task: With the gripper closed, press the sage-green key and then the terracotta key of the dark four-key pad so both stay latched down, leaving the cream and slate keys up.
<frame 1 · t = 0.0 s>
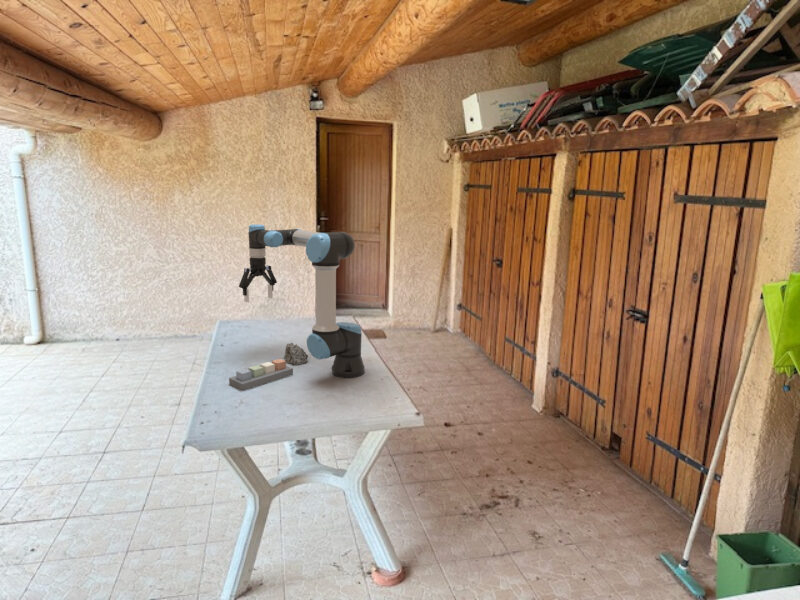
hand: (258, 299, 251), 28 cm above the table, fingers open, 13 cm apart
key terracotta: (278, 365, 230), point 4 cm above the table, slide at 0.0 cm
key cream: (267, 368, 226), point 4 cm above the table, slide at 0.0 cm
key sage: (255, 372, 221), point 4 cm above the table, slide at 0.0 cm
key slate: (243, 375, 217), point 4 cm above the table, slide at 0.0 cm
rock: (295, 362, 249), on the table
keypad: (262, 379, 224), on the table
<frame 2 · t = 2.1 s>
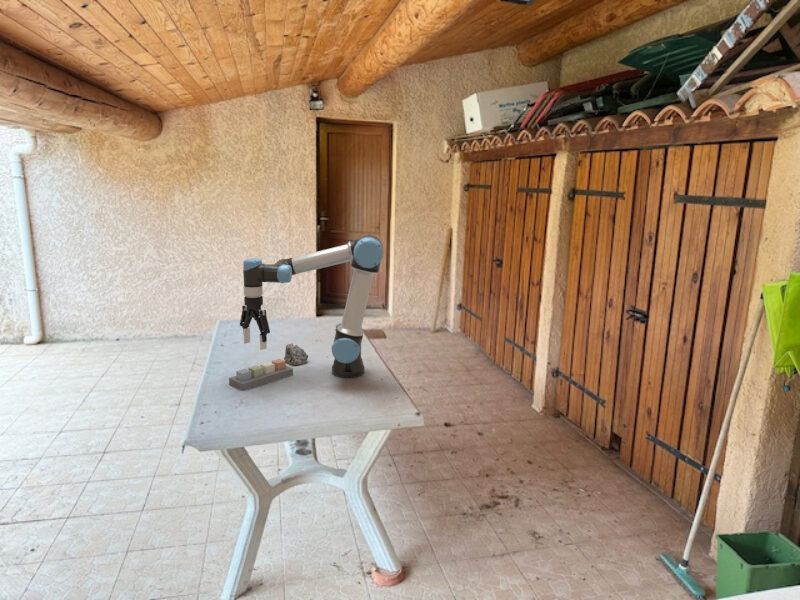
hand: (255, 345, 219), 16 cm above the table, fingers open, 11 cm apart
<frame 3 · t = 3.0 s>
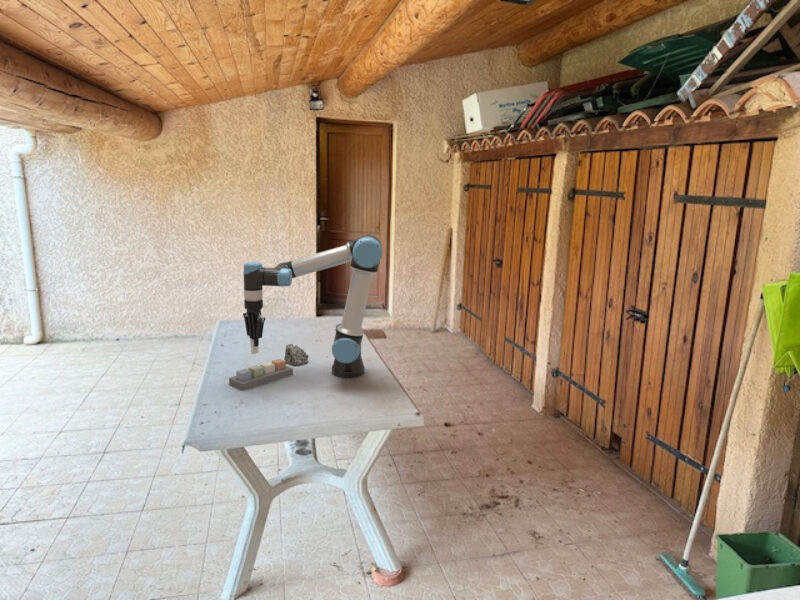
hand: (254, 352, 219), 13 cm above the table, fingers closed
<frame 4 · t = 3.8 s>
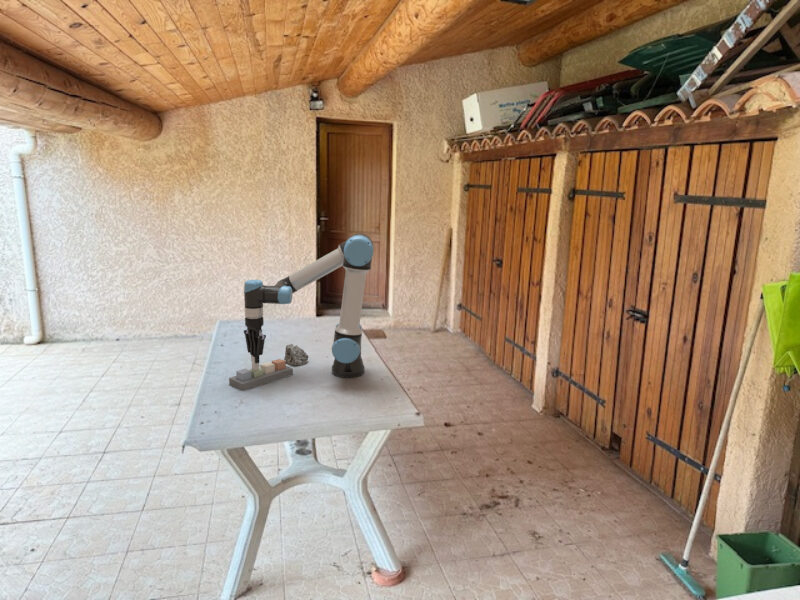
hand: (255, 369, 221), 5 cm above the table, fingers closed
key sage: (256, 374, 222), point 3 cm above the table, slide at 1.1 cm, touching gripper
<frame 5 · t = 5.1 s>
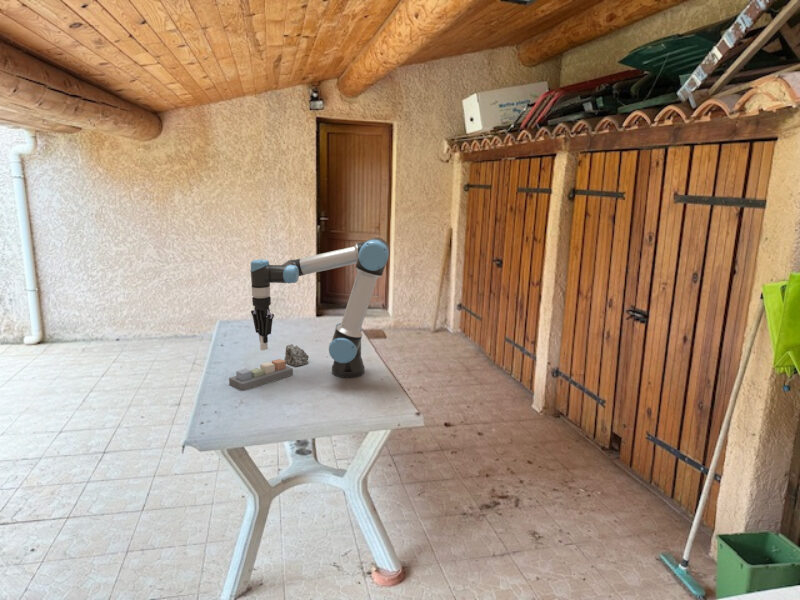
hand: (264, 349, 222), 14 cm above the table, fingers closed
key sage: (256, 374, 222), point 3 cm above the table, slide at 1.3 cm
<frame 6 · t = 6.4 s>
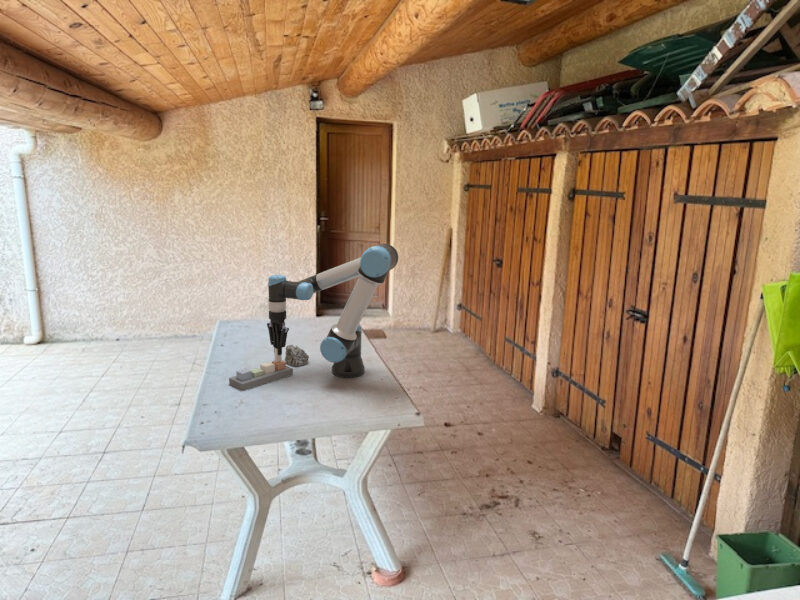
hand: (278, 361, 230), 6 cm above the table, fingers closed
key terracotta: (278, 365, 230), point 4 cm above the table, slide at 0.3 cm, touching gripper
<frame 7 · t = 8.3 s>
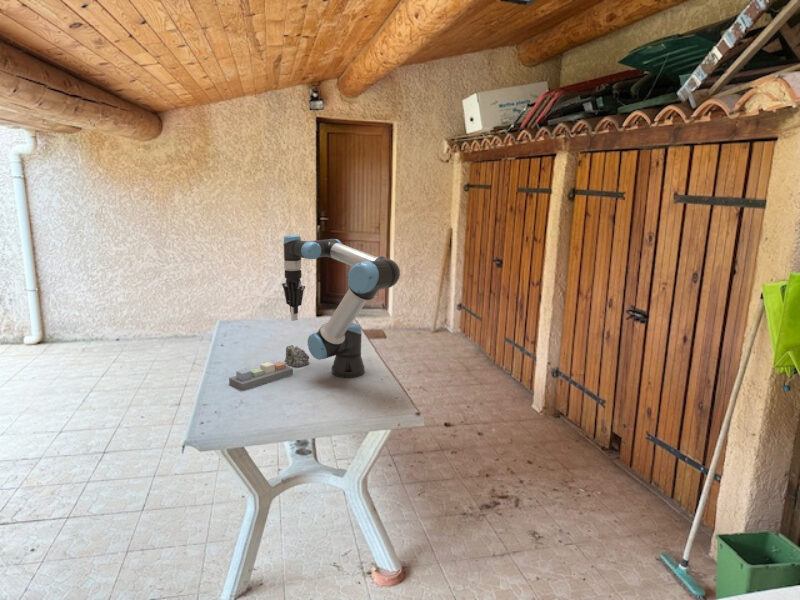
hand: (294, 320, 236), 23 cm above the table, fingers closed
key terracotta: (278, 368, 231), point 3 cm above the table, slide at 1.3 cm
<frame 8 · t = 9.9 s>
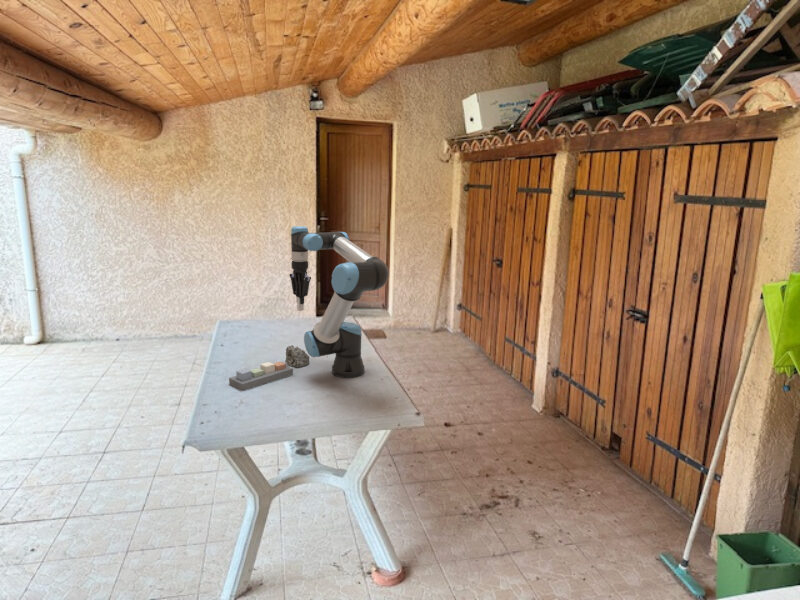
hand: (300, 310, 240), 26 cm above the table, fingers closed
at the end: key sage slide at 1.3 cm; key terracotta slide at 1.3 cm; key cream slide at 0.0 cm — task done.
